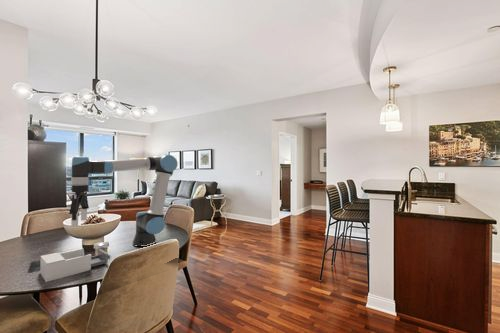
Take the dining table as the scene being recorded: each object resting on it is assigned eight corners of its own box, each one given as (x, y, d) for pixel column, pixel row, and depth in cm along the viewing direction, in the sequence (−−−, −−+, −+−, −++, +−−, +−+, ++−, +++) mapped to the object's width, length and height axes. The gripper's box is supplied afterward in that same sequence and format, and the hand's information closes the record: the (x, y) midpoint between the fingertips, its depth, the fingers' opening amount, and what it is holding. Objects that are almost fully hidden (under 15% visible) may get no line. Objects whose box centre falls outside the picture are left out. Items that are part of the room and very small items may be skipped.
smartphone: (27, 272, 116) (30, 262, 128) (27, 274, 116) (30, 263, 128) (47, 268, 121) (48, 259, 133) (47, 270, 121) (48, 260, 133)
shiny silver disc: (106, 243, 148) (106, 241, 148) (111, 246, 143) (111, 243, 143) (91, 246, 142) (91, 244, 142) (96, 250, 137) (96, 247, 137)
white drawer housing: (82, 262, 131) (83, 247, 131) (90, 269, 122) (91, 253, 122) (40, 272, 117) (40, 255, 117) (45, 282, 108) (46, 263, 108)
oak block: (104, 252, 146) (104, 244, 146) (107, 254, 143) (107, 246, 143) (95, 255, 142) (95, 246, 142) (98, 257, 139) (98, 248, 139)
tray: (100, 257, 137) (100, 248, 137) (107, 262, 129) (108, 253, 129) (64, 266, 123) (64, 256, 123) (70, 272, 116) (70, 262, 116)
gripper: (80, 183, 138) (79, 218, 138) (61, 186, 114) (61, 229, 114) (95, 183, 140) (94, 217, 140) (79, 186, 117) (79, 228, 117)
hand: (79, 223), depth 127 cm, fingers open, 13 cm apart
